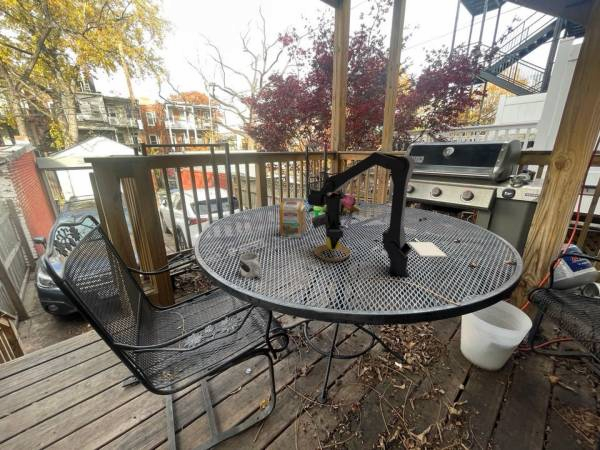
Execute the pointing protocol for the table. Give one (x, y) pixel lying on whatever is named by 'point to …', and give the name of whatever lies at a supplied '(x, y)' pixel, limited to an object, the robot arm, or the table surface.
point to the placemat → (427, 249)
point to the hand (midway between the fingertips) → (332, 246)
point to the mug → (250, 265)
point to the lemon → (330, 244)
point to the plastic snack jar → (292, 217)
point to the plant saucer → (324, 247)
